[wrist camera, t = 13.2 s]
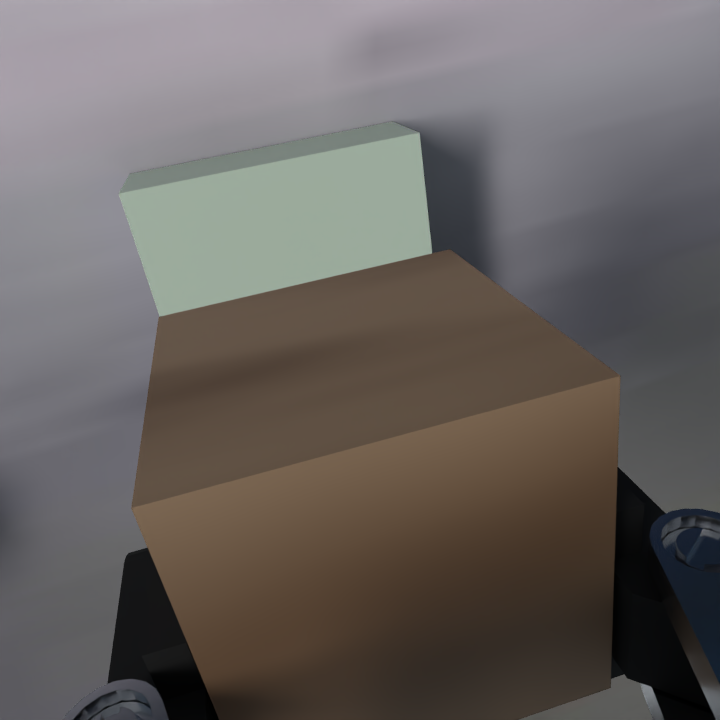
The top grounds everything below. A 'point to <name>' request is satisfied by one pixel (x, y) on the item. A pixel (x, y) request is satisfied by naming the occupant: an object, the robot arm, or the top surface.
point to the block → (383, 498)
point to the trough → (278, 215)
